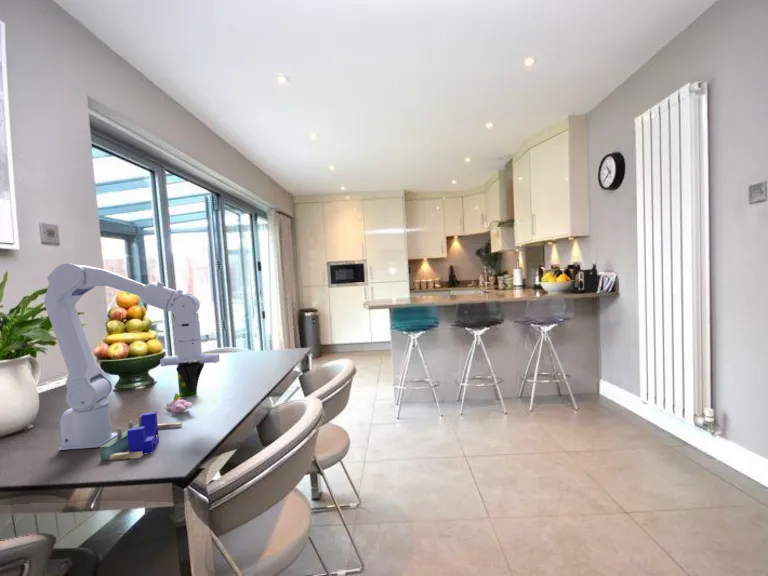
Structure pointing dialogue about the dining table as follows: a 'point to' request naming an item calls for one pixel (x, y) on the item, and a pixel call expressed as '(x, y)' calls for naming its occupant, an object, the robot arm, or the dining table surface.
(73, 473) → the dining table surface
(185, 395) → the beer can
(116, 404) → the dining table surface
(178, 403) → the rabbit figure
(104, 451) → the pin bay
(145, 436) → the cable clip
